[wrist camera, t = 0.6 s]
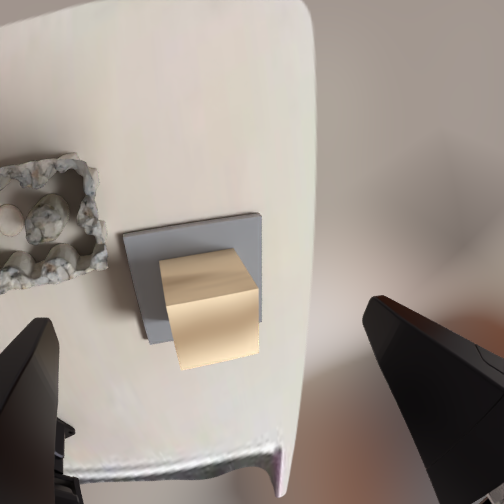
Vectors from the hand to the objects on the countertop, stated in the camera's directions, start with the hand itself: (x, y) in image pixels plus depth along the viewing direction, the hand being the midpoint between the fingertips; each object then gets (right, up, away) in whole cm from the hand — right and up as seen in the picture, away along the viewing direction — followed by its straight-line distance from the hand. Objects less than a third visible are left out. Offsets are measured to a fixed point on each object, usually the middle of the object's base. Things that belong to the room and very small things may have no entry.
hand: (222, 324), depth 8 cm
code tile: (-3, 0, +14) cm, 15 cm away
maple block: (-3, -1, +14) cm, 14 cm away
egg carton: (-13, +4, +9) cm, 16 cm away
